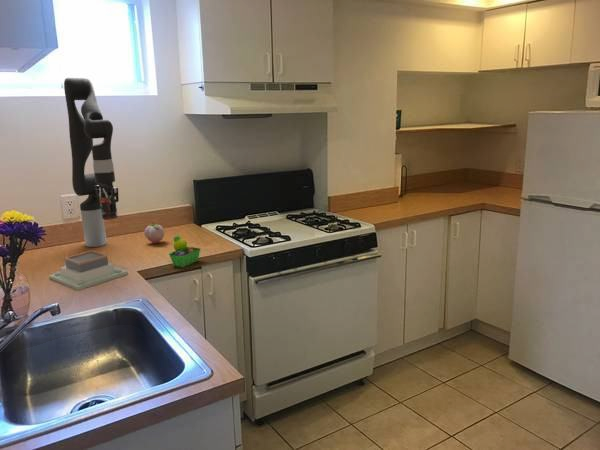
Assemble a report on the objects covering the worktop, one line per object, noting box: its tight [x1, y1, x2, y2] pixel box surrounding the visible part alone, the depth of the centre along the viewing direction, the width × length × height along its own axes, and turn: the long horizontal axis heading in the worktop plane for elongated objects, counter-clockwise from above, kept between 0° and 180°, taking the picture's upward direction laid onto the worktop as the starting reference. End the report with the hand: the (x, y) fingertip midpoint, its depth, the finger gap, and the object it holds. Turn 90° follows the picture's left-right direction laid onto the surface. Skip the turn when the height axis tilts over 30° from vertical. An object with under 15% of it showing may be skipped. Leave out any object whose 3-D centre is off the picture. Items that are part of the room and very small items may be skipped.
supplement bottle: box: [100, 192, 118, 221], centre depth 201 cm, size 6×6×11 cm
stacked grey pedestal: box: [48, 249, 129, 291], centre depth 187 cm, size 22×20×8 cm
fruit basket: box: [168, 235, 201, 268], centre depth 198 cm, size 11×9×11 cm
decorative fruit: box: [144, 222, 166, 244], centre depth 228 cm, size 9×8×10 cm
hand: (109, 211), depth 201 cm, fingers closed on supplement bottle, 6 cm apart
